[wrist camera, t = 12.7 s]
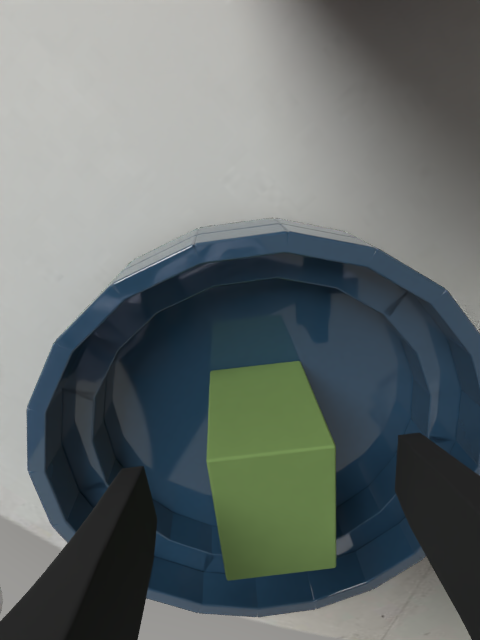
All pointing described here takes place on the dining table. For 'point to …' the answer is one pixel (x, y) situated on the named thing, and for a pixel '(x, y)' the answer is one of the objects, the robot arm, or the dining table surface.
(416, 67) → the dining table surface
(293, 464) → the scrub pad
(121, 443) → the bowl
